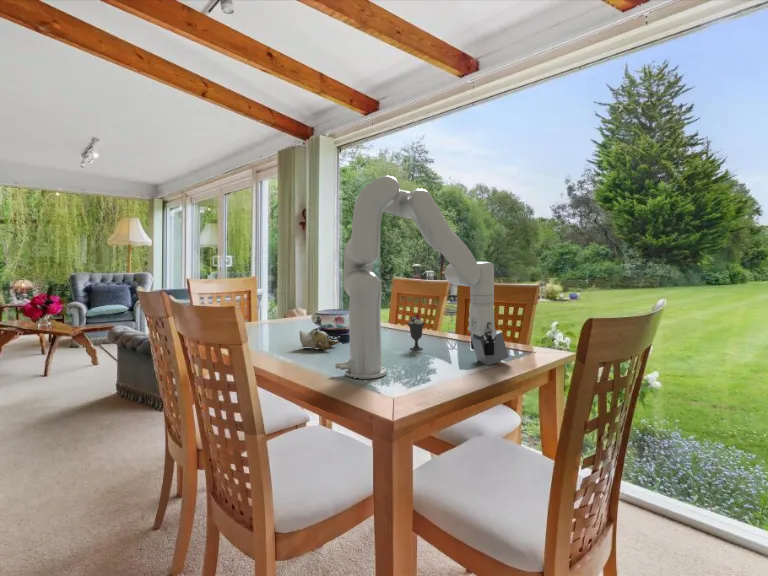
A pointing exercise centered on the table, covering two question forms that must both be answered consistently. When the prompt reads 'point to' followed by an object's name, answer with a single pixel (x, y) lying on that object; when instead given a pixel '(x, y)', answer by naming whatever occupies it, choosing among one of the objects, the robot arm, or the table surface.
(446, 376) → the table surface
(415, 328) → the sundae
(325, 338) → the ceramic sculpture
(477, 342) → the grey matte cube
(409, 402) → the table surface
